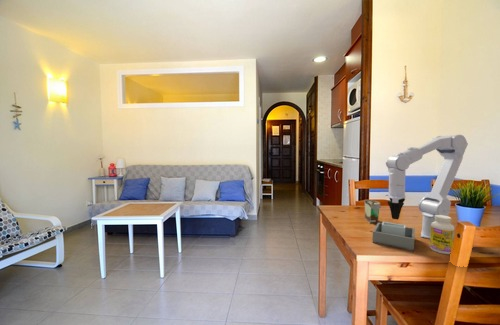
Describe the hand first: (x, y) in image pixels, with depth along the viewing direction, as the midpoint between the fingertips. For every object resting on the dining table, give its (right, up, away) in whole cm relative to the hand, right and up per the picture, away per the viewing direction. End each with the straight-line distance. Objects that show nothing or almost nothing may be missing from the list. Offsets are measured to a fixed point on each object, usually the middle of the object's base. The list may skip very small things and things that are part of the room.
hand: (396, 216), depth 97 cm
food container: (+4, -8, +25) cm, 27 cm away
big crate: (-2, -9, -2) cm, 10 cm away
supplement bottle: (+9, -10, -11) cm, 18 cm away
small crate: (-2, -9, -2) cm, 9 cm away
